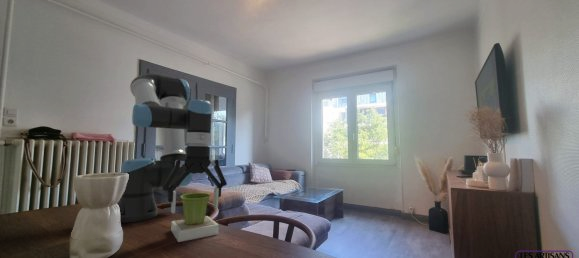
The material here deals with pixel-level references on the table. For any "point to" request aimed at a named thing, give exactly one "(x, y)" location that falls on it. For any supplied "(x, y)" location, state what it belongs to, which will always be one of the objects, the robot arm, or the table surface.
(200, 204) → the plant pot
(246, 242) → the table surface
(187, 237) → the pedestal
